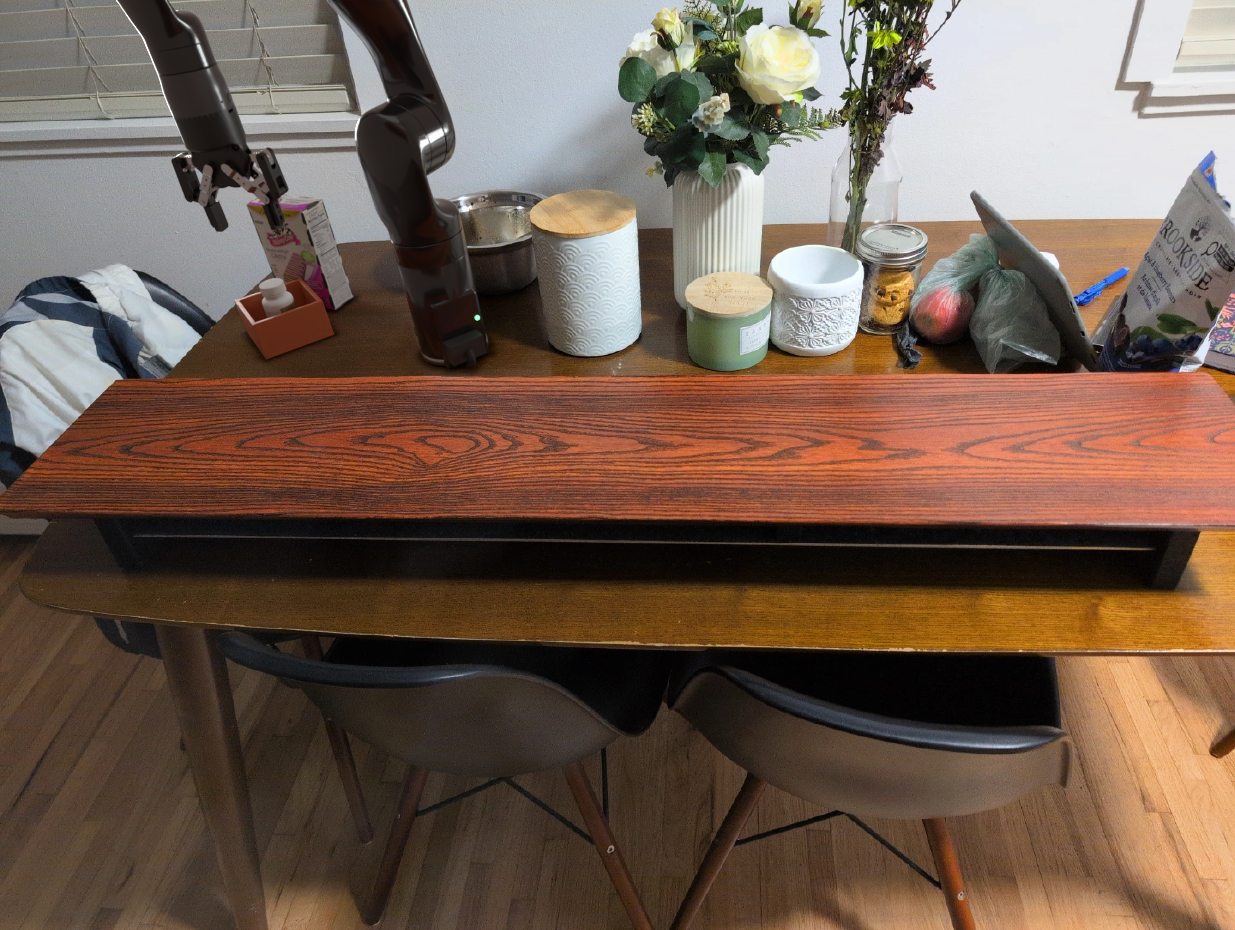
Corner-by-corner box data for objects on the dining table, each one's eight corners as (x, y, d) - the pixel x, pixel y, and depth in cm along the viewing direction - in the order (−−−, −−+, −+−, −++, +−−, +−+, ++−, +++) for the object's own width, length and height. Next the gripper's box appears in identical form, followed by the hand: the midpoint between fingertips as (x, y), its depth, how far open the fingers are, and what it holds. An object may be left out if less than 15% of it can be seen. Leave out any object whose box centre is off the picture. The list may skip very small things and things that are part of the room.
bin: (334, 334, 125) (322, 300, 122) (266, 359, 122) (252, 325, 118) (312, 310, 132) (301, 277, 129) (247, 333, 128) (233, 300, 125)
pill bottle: (298, 336, 125) (280, 289, 120) (269, 338, 125) (250, 291, 120) (307, 322, 128) (290, 275, 123) (279, 324, 129) (261, 277, 124)
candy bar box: (281, 303, 136) (243, 203, 125) (302, 289, 139) (267, 191, 129) (335, 312, 131) (300, 209, 121) (355, 297, 135) (323, 196, 125)
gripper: (135, 118, 105) (190, 241, 115) (236, 111, 102) (283, 239, 112) (170, 100, 111) (219, 219, 121) (267, 93, 108) (309, 216, 118)
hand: (250, 228), depth 117 cm, fingers open, 8 cm apart
